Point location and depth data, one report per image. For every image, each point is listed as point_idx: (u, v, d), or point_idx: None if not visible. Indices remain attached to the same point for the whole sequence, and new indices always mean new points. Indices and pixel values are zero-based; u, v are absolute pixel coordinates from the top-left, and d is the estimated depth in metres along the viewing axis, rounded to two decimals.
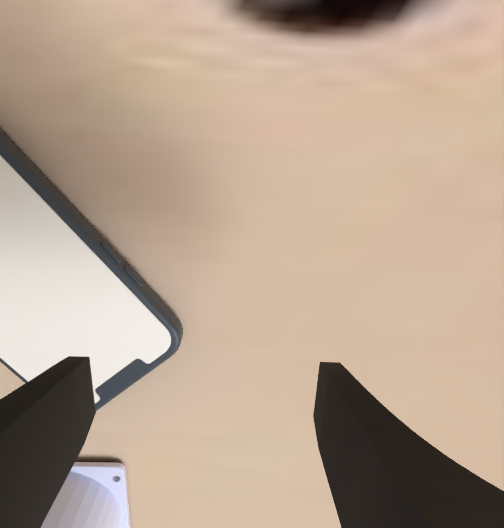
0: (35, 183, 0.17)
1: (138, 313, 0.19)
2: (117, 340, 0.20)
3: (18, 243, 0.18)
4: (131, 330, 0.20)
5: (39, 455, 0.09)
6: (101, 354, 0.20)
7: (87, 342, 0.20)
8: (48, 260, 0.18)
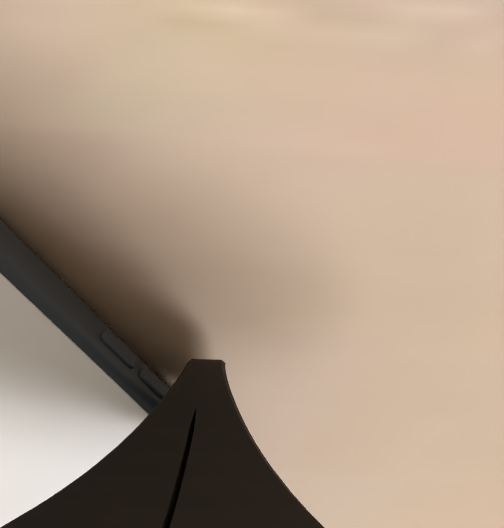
0: None
1: None
2: None
3: None
4: None
5: None
6: None
7: None
8: (8, 368, 0.10)
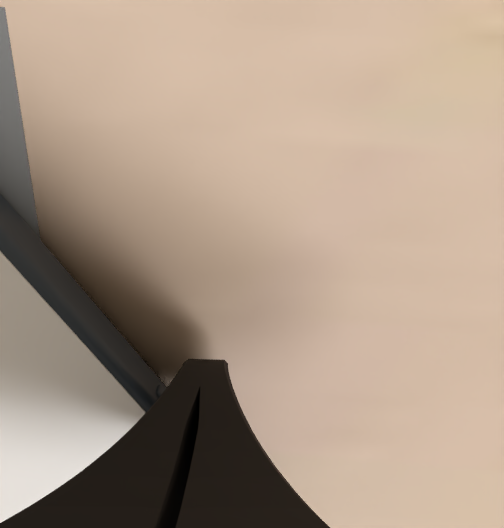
0: (60, 302, 0.10)
1: None
2: None
3: (19, 393, 0.10)
4: None
5: (191, 457, 0.09)
6: None
7: None
8: (67, 419, 0.11)
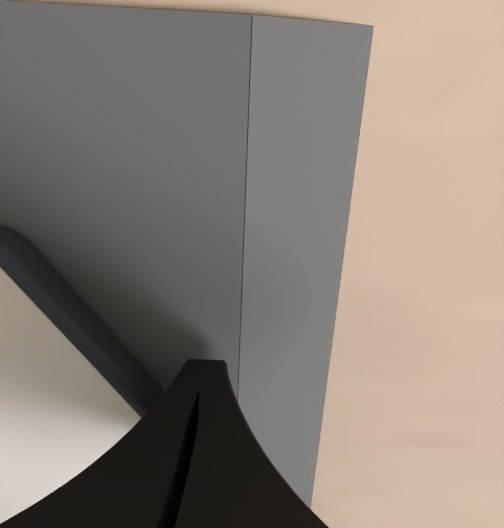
0: (112, 372, 0.10)
1: None
2: None
3: (73, 453, 0.11)
4: None
5: None
6: None
7: None
8: None
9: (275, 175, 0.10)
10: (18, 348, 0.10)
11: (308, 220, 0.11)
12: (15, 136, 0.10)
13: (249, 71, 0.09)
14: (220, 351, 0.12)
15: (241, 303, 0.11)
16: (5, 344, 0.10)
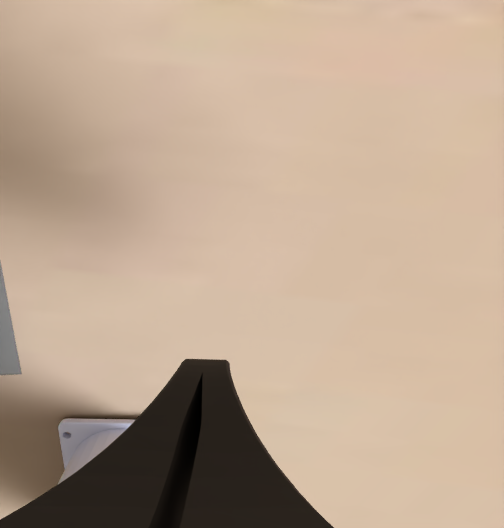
0: None
1: None
2: None
3: None
4: None
5: (188, 457, 0.09)
6: None
7: None
8: None
9: None
10: None
11: None
12: None
13: None
14: None
15: None
16: None
